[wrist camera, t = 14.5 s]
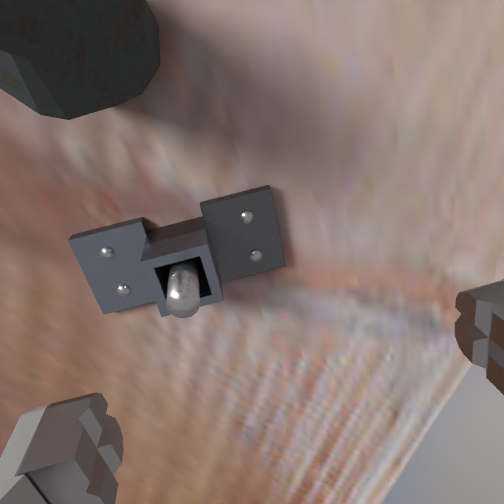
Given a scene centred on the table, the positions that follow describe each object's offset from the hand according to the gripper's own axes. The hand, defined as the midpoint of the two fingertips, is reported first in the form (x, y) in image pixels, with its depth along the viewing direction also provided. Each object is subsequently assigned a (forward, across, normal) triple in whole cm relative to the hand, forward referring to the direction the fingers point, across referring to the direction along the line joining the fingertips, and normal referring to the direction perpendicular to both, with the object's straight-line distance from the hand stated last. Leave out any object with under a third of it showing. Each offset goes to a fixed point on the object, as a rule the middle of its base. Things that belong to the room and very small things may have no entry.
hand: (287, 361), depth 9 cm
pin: (+35, +6, +12) cm, 38 cm away
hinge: (+35, +6, +12) cm, 38 cm away
